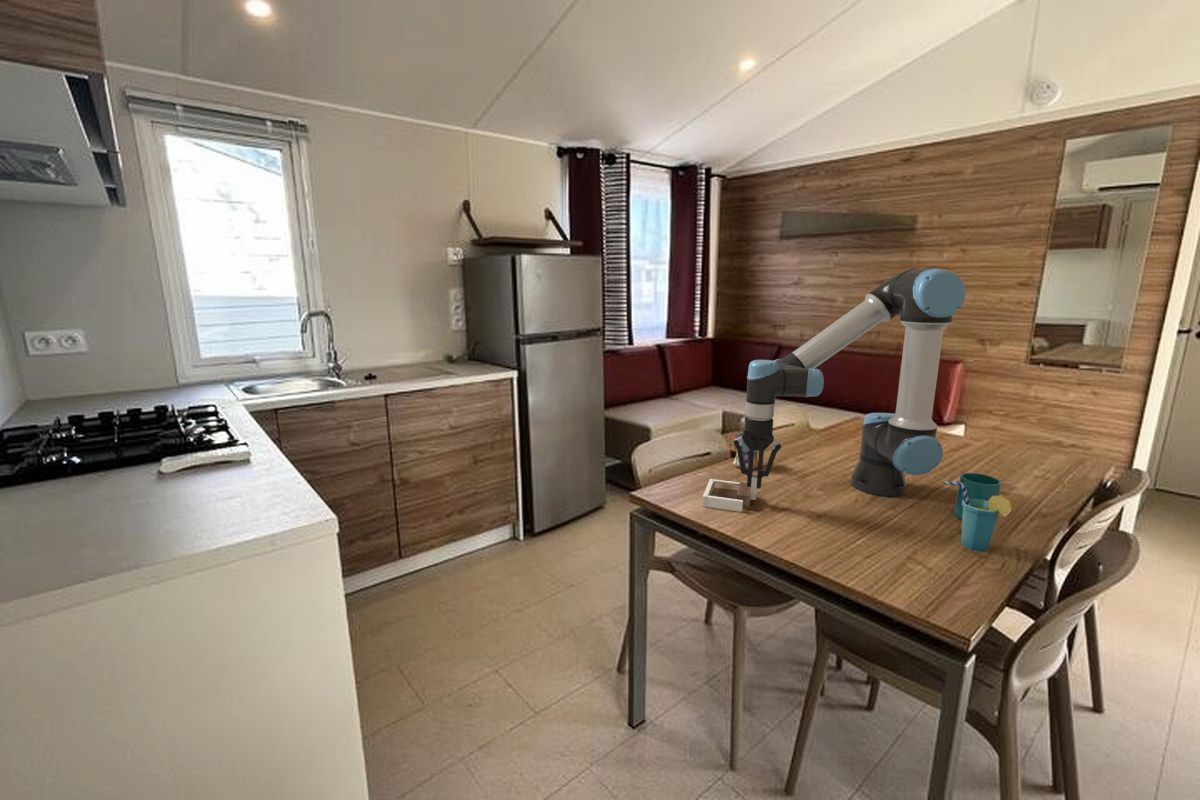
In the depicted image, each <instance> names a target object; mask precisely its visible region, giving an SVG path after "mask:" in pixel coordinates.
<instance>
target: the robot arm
mask: <svg viewBox="0 0 1200 800" xmlns="http://www.w3.org/2000/svg"><path fill="white" fill-rule="evenodd" d="M965 299H966V288H965V285H964V281H963V280H962V279H961V277H959V275H958V274H957V273H955V272H953V271H951V270H948V269H942V268H926V269H925V268H922V269H921V268H920V269H919V268H918V269H917V268H913V269H911V268H910V269H907V270H904V271H901V272H898V273H896V274H895V275H893V276H891V277H890V278H888V279H886V280H885V281H884V282H883V283H881V284H880V285H878V286H877V287H875V288H874V289H873V290H871V291H870V292H868V293H867V294H866V295H865V298H864V300H863V301H862V302H860V303H859V304H858V305H856V306H855V307H854V308H853V309H851V310H849V311H848V312H847V313H845V314H844V315H842V316H840V317H839V318H838V319H837V320H835V321H834V322H832V323H831V324H830V325H828V326H827V327H826V328H824V329H823V330H821V331H820V332H818V333H817V334H815V336H812V338H810V339H809V340H808V341H806V342H804V343H803V344H802V345H800V346H799V347H798V348H797V349H795V350H793V351H792V352H790V353H789V354H788V355H786V356H785V357H783V358H777V359H775V360H771V359H754V360H752V361H750V362H749V364H748V368H747V369H748V371H747V376H746V379H747V382H746V400H745V411H744V412H745V417H744V424H743V425H744V426H743V432H742V433H743V434H742V436H741V437H739V438H735V439H734V438H733V439H734V440H733V445H734V447H735V448H736V452H737V453H738V458H739V463H740V472H741V474H743V475H746V476H747V478H746V479H747V481H746V483H747V487H751V495H750V499H751V500H752V501H756V500H757V489H761V488H762V480H763V478H764V477H769V475H770V473H771V470H772V467H773V464H774V462H775V459H776V456H777V453H778V452H779V451H780V450H781V449H782V443H781V442H779V441H777V440H775V437H774V435H773V431H774V430H773V429H774V419H773V418H774V416H775V406H776V397H804V398H808V397H810V398H811V397H819V395H821V393H822V392H823V390H824V385H825V381H824V375H823V372H822V371H821V370H820V369H818V368H817V367H819V366H820V365H822V364H823V363H824V362H825V361H827V360H829V359H830V358H831V357H833V356H834V355H836V354H837V353H838V352H840V351H842V350H843V349H844V348H846V347H847V346H849V345H850V344H851V343H853V342H855V341H856V340H857V339H859V338H860V337H862V336H863V335H865V334H866V333H868V332H869V331H870V330H871V329H873V328H874V327H876V326H878V325H879V324H881V323H882V322H886V323H887V322H889V321H891V320H893V318H896V317H897V316H899V315H900V318H899V322H900V324H901V325H902V326H903V327H904V328H905V330H904V331H905V332H904V337H903V348H902V356H901V357H902V358H901V364H900V373H899V380H898V390H897V399H896V407H895V413H890V412H871V413H866V415H865V416H864V418H863V419H864V420H863V424H862V433H861V434H862V435H861V441H860V442H861V443H860V453H859V460H858V461H857V463H856V464H855V465H856V466H855V467H854V469H853V471H852V472H851V474H850V475H851V476H850V482H849V483H850V485H851V486H852V487H853V488H854V489H856V490H859V491H860V492H864V493H865V494H866V493H867V494H870V495H876V496H882V497H883V496H884V497H897V496H902V495H904V494H905V493H906V490H907V482H906V477H905V474H906V475H910V476H922V475H925V474H928V473H930V472H931V471H932V470H933V469H936V467H938V466H939V464H940V463H941V461H942V459H943V455H944V448H943V446H942V444H941V443H940V441H939V440H938V439H937V432H938V424H937V423H935V422H934V420H933V411H934V404H935V397H936V396H935V395H936V389H937V388H936V387H937V381H938V374H939V373H938V372H939V365H940V359H941V350H942V343H943V338H944V337H943V335H944V330H945V329H946V328H947V327H949V326H950V325H952V323H953V322H952V320H953V315H954V314H955V313H957V312H958V310H959V309H960V308H961V307H962V306H963V304H964V302H965ZM742 441H744V442H745V444H746V445H747V447H748V448H749V463H748V469H746V465H745V459H744V454H743V449H742V444H743V442H742ZM770 445H771V448H772V450H771V453H770V455H769V458H768V460H767V463H766V466H765V469H764V470H763V468H764V456H765V455H764V454H765V452H764V451H766V450H767V449H768V447H770ZM754 450H758V451H757V452H758V457H757V460H758V467H757V473H756V474H754V473H753V472H754V469H753V462H754Z"/></svg>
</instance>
